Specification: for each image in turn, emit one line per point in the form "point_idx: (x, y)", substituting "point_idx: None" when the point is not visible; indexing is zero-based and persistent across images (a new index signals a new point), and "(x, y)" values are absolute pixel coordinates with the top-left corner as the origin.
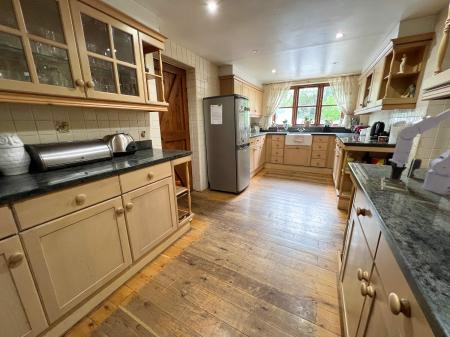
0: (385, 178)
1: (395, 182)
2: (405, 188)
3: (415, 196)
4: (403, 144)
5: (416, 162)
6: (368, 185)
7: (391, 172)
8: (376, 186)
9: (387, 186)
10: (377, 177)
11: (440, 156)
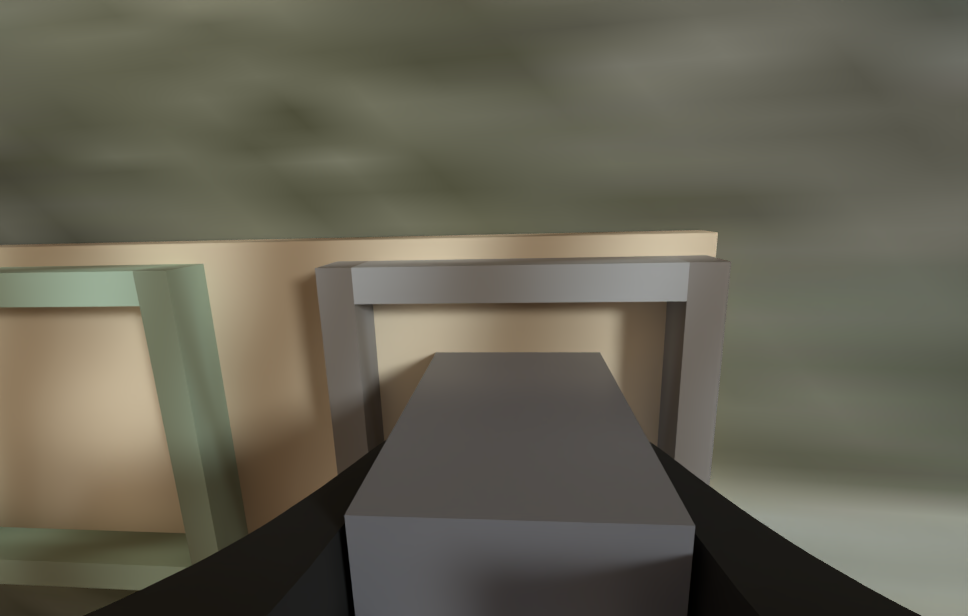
0: (674, 308)
1: (341, 464)
2: (71, 562)
3: (111, 598)
4: None
5: None
6: (66, 46)
7: (365, 491)
8: (132, 176)
9: (133, 333)
10: (924, 157)
11: None
